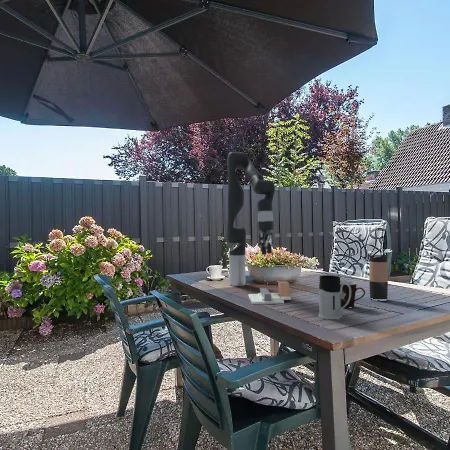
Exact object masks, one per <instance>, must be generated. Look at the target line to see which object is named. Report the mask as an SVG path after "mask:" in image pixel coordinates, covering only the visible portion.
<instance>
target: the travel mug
mask: <svg viewBox="0 0 450 450" xmlns="http://www.w3.org/2000/svg"><path fill="white" fill-rule="evenodd" d="M388 263H389V262H388V255H381V254H380V255H379V254H378V255H377V254H376V255H375V254H373V255H372V254H371V255H369V263H368V264H369V266H368V267H369V268H368V270H369V273H368V274H369V276H368V279H369V281H368V282H369V299H370V298H373V299H387V300H388V292H389V290H388V289H389V287H388V286H389V279H388V278H389V276H388V275H389V274H388V273H389V270H388V267H389V266H388Z"/></svg>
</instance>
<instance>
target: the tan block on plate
mask: <svg viewBox="0 0 450 450" xmlns="http://www.w3.org/2000/svg"><path fill="white" fill-rule="evenodd" d="M277 283H278V284H277V288H278V289H277V290H278V291H277V293H278V294H279V296H280V297H281V298H282V300H284V301H288V300H289V301H291V300H292V297H290V283H289V282H288V281H287V280H286V281H284V280H281V281H280V280H279V281H277Z"/></svg>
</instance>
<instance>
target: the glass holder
mask: <svg viewBox="0 0 450 450" xmlns="http://www.w3.org/2000/svg"><path fill="white" fill-rule="evenodd" d="M340 281H341V276H339V275H333V274H332V275H331V274H329V275H328V274H327V275H324V274H323V275H320V276H319V284H318V300H319V301H318V303H319V305H318V309H319V310H318V315H317V316H319V317H318V318H320V317H321V318H320V319H323V318H325V319H324V320H328V319H338V318H341V317H342V318H343V315H342V310H343V309H345V308H344V307H345V306H347V305H348V303H349V301H350V298H351V287H350V285H349V284H347V283H343V284H342V285H341V288H340ZM344 284H346V285H347V286H348V287H349V299H348V301H347V303H346V304H345V305H344V306H343V307H342V308H341V293H342V287H343V285H344ZM338 320H339V319H338Z"/></svg>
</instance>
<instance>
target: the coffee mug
mask: <svg viewBox="0 0 450 450" xmlns="http://www.w3.org/2000/svg"><path fill="white" fill-rule="evenodd" d="M343 283H347V284H349V285H350V287H351V298H350V301H349V303H348V305H347V306H345V307H344V308H343V309H347V308H349V307H354V308H355V303H356V302H357V301H359V300H361V299H362V298H363V297H364V296H365V295H366V291H365V289H364V288H362V287H361V286H360V287H357V284H358V283H357V282H355V281H349V280H348V281H347V280H342V281H341V280H340V288H341V285H342V284H343ZM358 290H362V292H363V294H362V296H360V297H358V298H356V292H357V291H358ZM348 299H349V287H348V286H347V285H346V284H344V285H343V287H342V293H341V307H343V306H344V305H345V304H346V303H347V301H348Z"/></svg>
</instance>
